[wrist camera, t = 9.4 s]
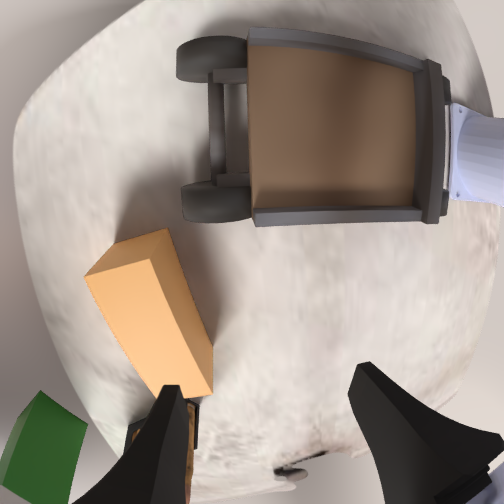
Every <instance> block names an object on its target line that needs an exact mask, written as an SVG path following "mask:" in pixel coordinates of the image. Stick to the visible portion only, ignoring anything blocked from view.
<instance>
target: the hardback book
mask: <svg viewBox="0 0 504 504" xmlns="http://www.w3.org/2000/svg"><path fill="white" fill-rule="evenodd" d="M87 426H88V424H87V423H86V422H84V421H82V420H81V419H79V418H78V417H76V416H75V415H73V414H72V413H70V412H69V411H67V410H66V409H64V408H63V407H62V406H60V405H59V404H58V403H56V402H55V401H54V400H52V399H51V398H50V397H48V396H47V395H46V394H45V393H43V392H42V391H41V390H40V391H39V393H38V394H37V395H36V396H35V397H34V399H33V400H32V401H31V402H30V403H29V405H28V406H27V407H26V408H25V409H24V411H23V412H22V413H21V415H20V416H19V417H18V418H17V421H16V423H15V425H14V427H13V430H12V432H11V434H10V437H9V439H8V441H7V444H6V446H5V449H4V451H3V454H2V457H1V460H0V504H68V500H69V495H70V490H71V486H72V481H73V477H74V472H75V469H76V464H77V461H78V457H79V453H80V450H81V446H82V443H83V439H84V436H85V432H86V429H87Z"/></svg>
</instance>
